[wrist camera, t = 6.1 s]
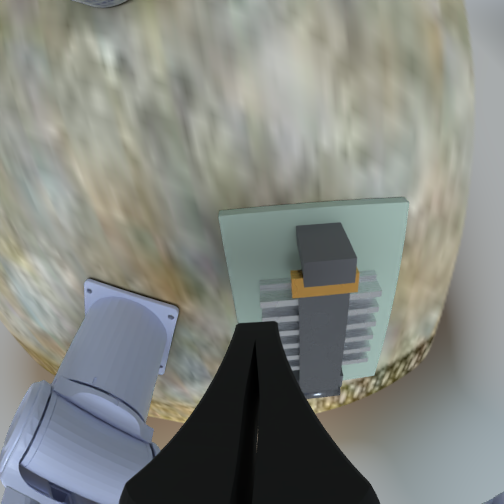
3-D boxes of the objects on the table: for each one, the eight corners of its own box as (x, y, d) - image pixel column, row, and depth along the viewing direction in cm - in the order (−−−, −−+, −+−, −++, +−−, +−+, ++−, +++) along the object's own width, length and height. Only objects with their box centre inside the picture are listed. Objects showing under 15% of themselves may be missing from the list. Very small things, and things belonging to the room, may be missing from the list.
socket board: (372, 369, 28) (383, 409, 24) (251, 381, 29) (250, 423, 25) (404, 197, 19) (437, 233, 15) (219, 210, 20) (209, 251, 16)
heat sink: (361, 345, 25) (366, 363, 24) (268, 355, 26) (268, 374, 24) (374, 269, 21) (382, 287, 19) (259, 280, 22) (259, 299, 20)
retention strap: (339, 387, 25) (341, 397, 24) (294, 392, 25) (295, 402, 25) (355, 262, 19) (359, 272, 18) (289, 268, 19) (291, 279, 18)
